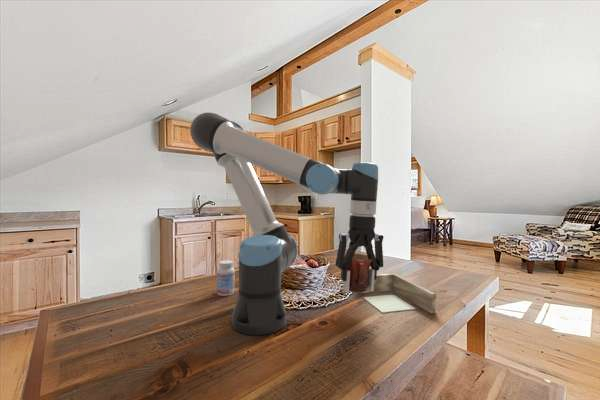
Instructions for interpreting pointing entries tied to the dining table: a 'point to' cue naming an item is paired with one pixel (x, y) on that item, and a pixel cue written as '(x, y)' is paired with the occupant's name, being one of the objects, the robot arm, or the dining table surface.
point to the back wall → (414, 293)
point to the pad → (388, 303)
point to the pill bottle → (225, 278)
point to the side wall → (382, 283)
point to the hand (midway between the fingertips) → (358, 290)
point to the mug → (359, 273)
